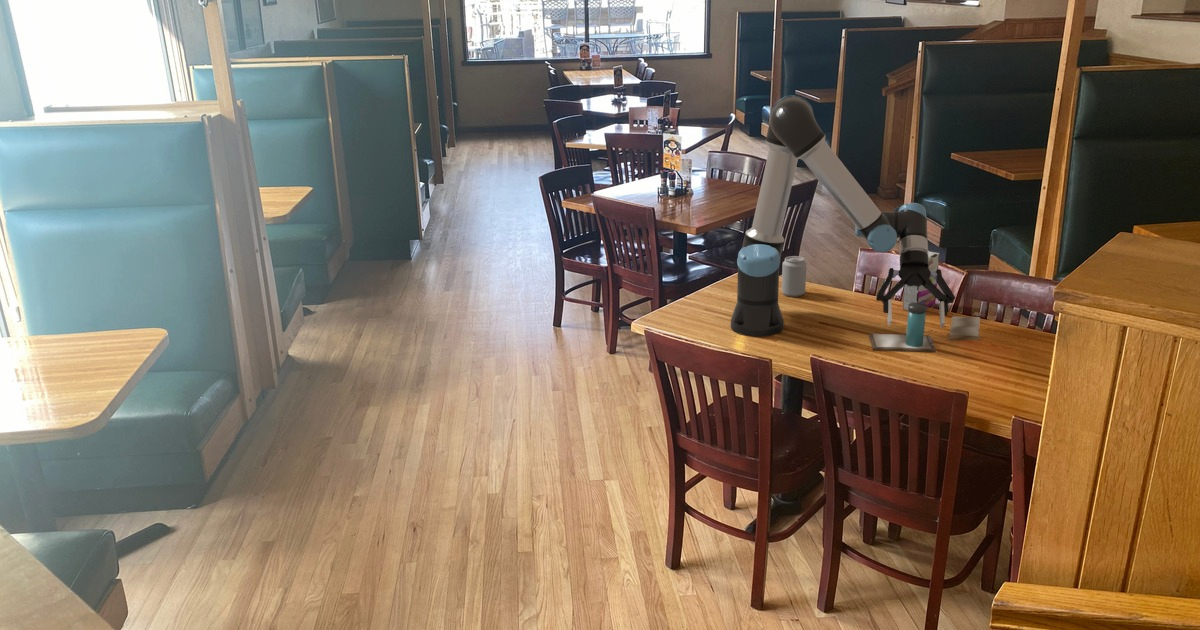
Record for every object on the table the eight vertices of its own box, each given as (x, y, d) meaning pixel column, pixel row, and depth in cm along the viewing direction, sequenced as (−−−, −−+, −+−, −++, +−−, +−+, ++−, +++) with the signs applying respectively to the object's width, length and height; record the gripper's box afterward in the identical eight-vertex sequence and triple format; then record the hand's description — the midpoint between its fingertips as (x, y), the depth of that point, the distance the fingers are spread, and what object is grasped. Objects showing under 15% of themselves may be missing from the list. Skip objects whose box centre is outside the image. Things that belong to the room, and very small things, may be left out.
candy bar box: (920, 301, 270) (925, 250, 264) (935, 304, 266) (940, 252, 260) (901, 309, 263) (905, 257, 257) (916, 313, 259) (921, 260, 254)
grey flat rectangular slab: (872, 350, 234) (873, 344, 233) (868, 335, 244) (869, 330, 243) (935, 352, 231) (936, 346, 230) (928, 337, 241) (929, 331, 240)
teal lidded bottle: (906, 346, 233) (909, 308, 229) (904, 340, 237) (907, 302, 234) (924, 347, 232) (928, 308, 229) (921, 341, 236) (925, 302, 233)
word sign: (948, 339, 239) (951, 317, 237) (947, 337, 240) (950, 315, 238) (979, 340, 237) (982, 318, 235) (978, 338, 239) (981, 316, 237)
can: (781, 297, 278) (783, 261, 274) (781, 290, 285) (782, 254, 281) (805, 297, 276) (807, 261, 272) (804, 290, 283) (806, 255, 279)
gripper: (958, 262, 245) (962, 331, 236) (866, 260, 250) (866, 328, 241) (963, 249, 238) (967, 320, 229) (868, 247, 243) (869, 316, 234)
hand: (915, 324), depth 235 cm, fingers open, 13 cm apart
